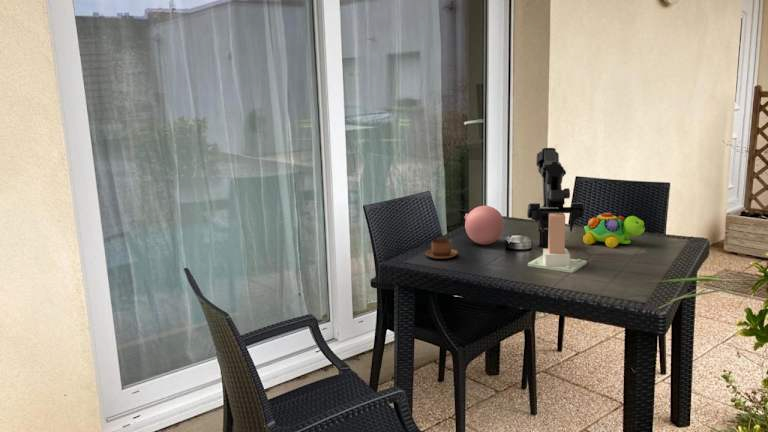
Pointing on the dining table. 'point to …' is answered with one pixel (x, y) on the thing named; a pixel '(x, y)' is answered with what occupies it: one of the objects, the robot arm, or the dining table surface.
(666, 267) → the dining table surface
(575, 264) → the tower base
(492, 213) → the balloon
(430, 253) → the cup and saucer
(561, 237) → the column brick
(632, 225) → the turtle toy
